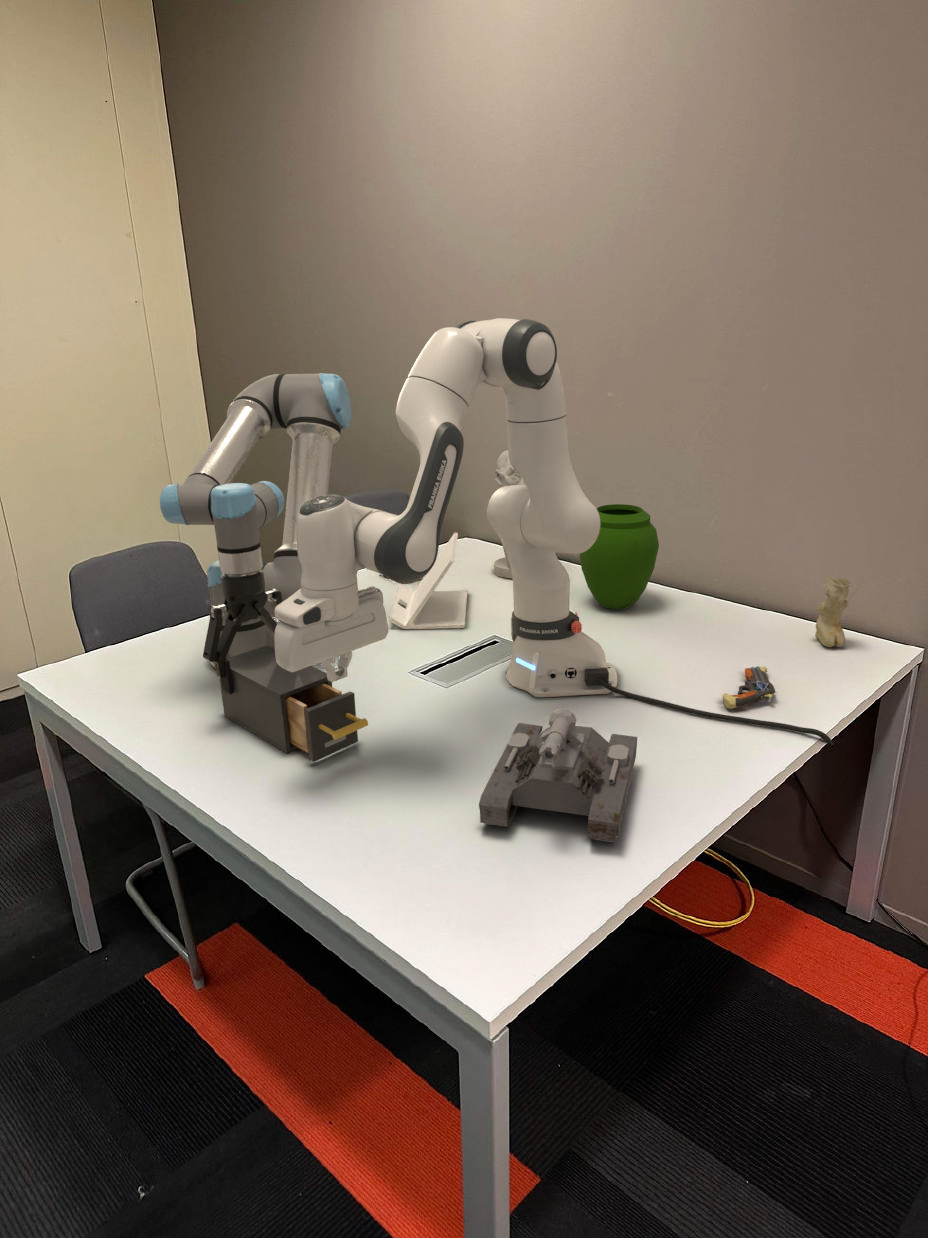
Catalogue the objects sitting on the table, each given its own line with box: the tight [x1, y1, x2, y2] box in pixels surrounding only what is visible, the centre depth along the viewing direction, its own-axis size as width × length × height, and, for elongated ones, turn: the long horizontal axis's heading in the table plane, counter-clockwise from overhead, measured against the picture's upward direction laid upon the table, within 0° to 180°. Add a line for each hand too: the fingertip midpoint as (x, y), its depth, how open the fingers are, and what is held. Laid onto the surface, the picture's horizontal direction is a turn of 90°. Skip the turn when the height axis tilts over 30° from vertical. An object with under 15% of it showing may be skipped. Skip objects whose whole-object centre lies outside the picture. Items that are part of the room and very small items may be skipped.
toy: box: [478, 707, 638, 844], centre depth 131 cm, size 25×20×15 cm
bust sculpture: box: [485, 449, 525, 579], centre depth 231 cm, size 16×24×35 cm
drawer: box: [285, 683, 369, 763], centre depth 150 cm, size 25×10×10 cm, turn 45°
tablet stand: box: [388, 531, 468, 630], centre depth 211 cm, size 18×25×17 cm
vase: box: [578, 503, 660, 610], centre depth 210 cm, size 20×20×24 cm
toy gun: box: [722, 665, 778, 710], centre depth 166 cm, size 3×19×10 cm
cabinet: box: [218, 645, 333, 754], centre depth 157 cm, size 21×11×11 cm, turn 45°
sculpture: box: [814, 576, 852, 648], centre depth 185 cm, size 6×7×15 cm
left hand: (255, 681), depth 161 cm, fingers open, 11 cm apart
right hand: (337, 678), depth 140 cm, fingers closed
